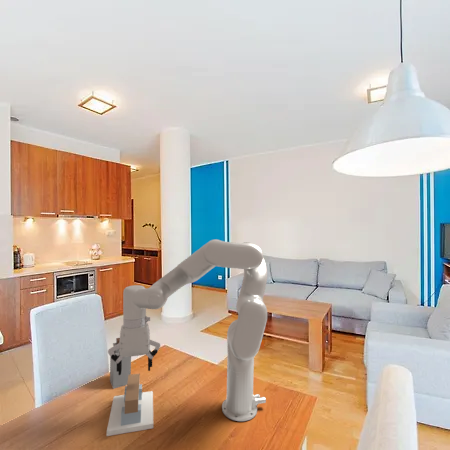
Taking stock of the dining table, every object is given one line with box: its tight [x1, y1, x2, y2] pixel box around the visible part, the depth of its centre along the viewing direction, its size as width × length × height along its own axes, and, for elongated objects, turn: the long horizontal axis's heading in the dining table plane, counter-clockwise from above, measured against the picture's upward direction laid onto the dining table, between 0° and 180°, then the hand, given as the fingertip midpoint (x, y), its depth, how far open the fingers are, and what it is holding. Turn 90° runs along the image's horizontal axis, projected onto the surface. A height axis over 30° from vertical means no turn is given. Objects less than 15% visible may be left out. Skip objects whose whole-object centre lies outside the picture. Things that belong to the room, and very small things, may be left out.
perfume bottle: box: [109, 337, 132, 389], centre depth 113 cm, size 7×7×18 cm
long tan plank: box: [125, 373, 141, 414], centre depth 95 cm, size 4×16×4 cm, turn 16°
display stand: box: [106, 383, 154, 437], centre depth 95 cm, size 14×18×6 cm
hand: (134, 371), depth 95 cm, fingers open, 9 cm apart
